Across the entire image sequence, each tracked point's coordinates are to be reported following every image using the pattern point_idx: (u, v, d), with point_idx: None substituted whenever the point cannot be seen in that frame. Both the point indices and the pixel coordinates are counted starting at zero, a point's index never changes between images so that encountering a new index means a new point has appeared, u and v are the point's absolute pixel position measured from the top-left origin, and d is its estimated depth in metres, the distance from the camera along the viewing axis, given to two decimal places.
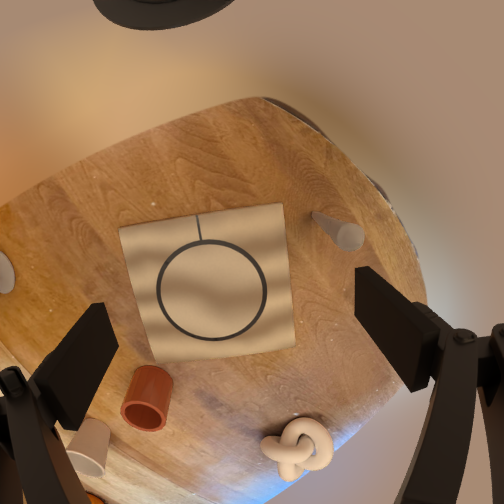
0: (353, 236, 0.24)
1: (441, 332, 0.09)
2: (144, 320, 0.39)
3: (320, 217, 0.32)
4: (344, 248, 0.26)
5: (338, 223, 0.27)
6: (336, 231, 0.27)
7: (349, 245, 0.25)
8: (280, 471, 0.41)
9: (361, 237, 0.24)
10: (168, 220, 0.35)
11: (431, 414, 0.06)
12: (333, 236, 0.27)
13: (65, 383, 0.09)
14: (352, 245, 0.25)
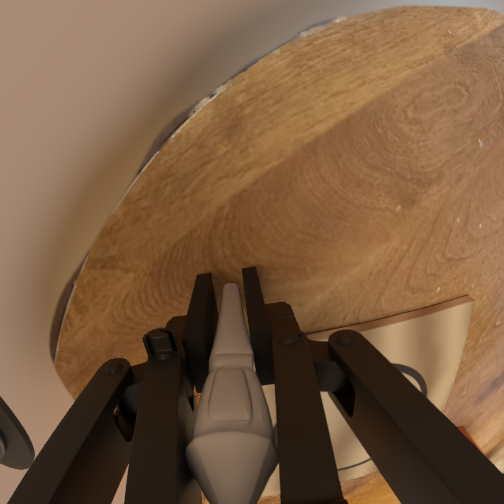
0: None
1: None
2: (368, 473, 0.24)
3: None
4: None
5: None
6: None
7: None
8: None
9: (215, 500, 0.05)
10: None
11: (277, 420, 0.07)
12: None
13: (207, 342, 0.12)
14: None
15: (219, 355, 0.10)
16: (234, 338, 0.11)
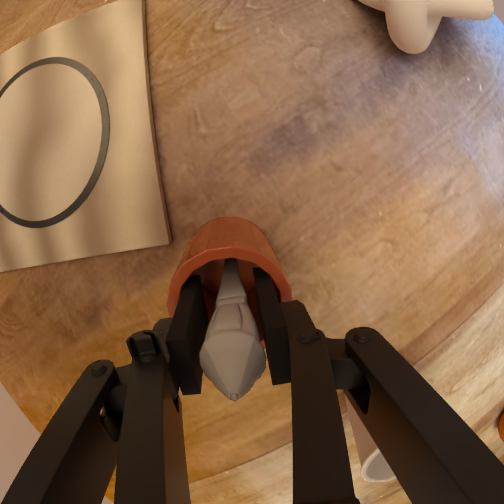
0: (223, 393, 0.10)
1: None
2: (80, 253, 0.21)
3: None
4: (259, 372, 0.11)
5: None
6: None
7: None
8: (463, 7, 0.11)
9: (220, 379, 0.10)
10: None
11: (293, 418, 0.07)
12: None
13: (192, 345, 0.12)
14: None
15: (221, 299, 0.15)
16: (232, 288, 0.16)
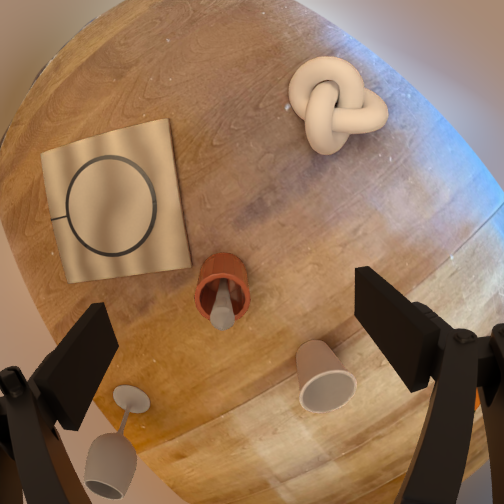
0: (218, 328, 0.30)
1: (441, 332, 0.09)
2: (140, 271, 0.41)
3: None
4: (232, 322, 0.31)
5: None
6: None
7: (227, 328, 0.30)
8: (357, 130, 0.31)
9: (217, 323, 0.29)
10: (57, 241, 0.39)
11: (431, 414, 0.06)
12: None
13: (65, 382, 0.09)
14: (225, 328, 0.30)
15: (218, 295, 0.34)
16: (223, 290, 0.35)
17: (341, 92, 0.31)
